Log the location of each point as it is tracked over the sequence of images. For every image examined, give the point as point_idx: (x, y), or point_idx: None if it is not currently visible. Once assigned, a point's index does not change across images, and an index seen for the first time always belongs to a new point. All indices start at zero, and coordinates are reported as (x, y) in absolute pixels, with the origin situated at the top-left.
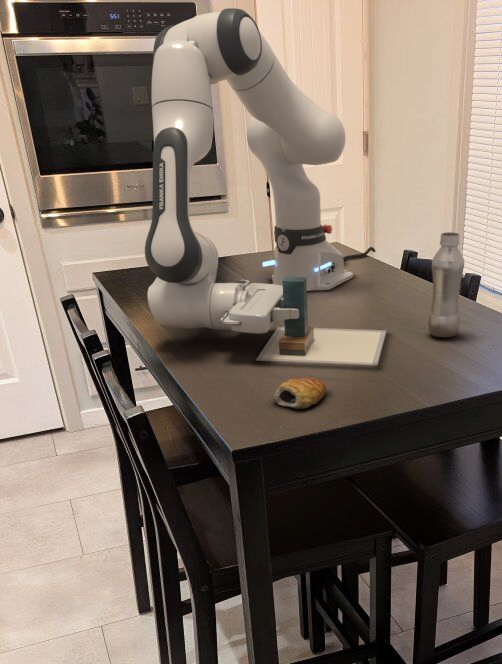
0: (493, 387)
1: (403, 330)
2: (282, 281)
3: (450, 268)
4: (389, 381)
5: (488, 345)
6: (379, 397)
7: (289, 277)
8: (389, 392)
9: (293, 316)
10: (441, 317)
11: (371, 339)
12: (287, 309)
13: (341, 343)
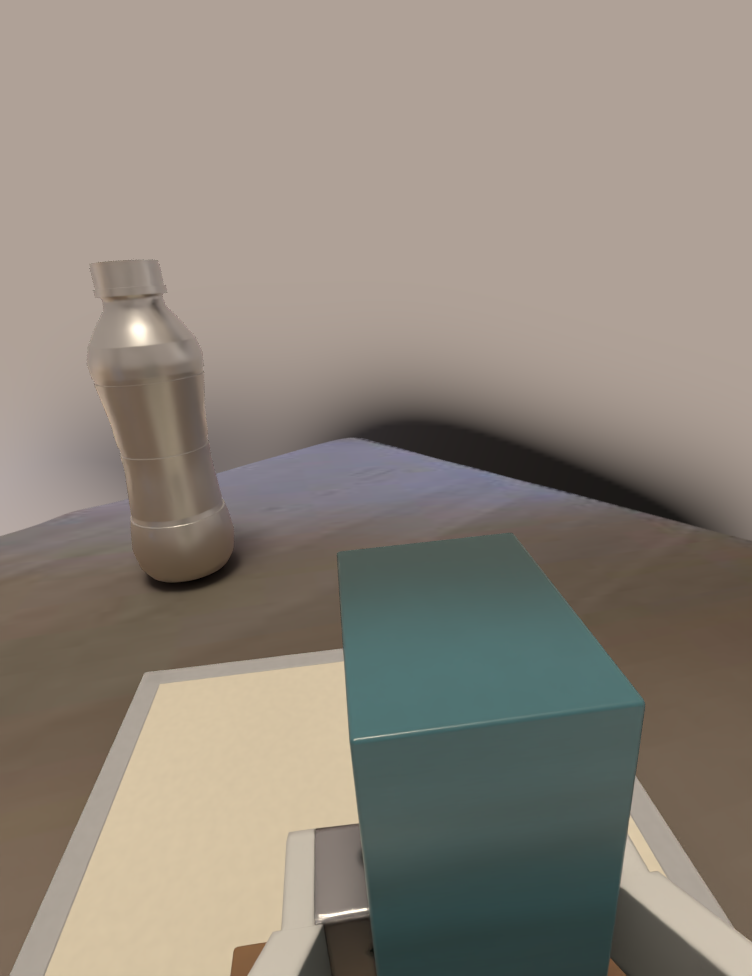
0: (514, 487)
1: (108, 651)
2: (640, 715)
3: (202, 356)
4: (611, 598)
5: (269, 512)
6: (745, 593)
7: (395, 675)
8: (688, 584)
9: None
10: (220, 507)
11: (259, 693)
12: (676, 885)
13: (327, 794)
